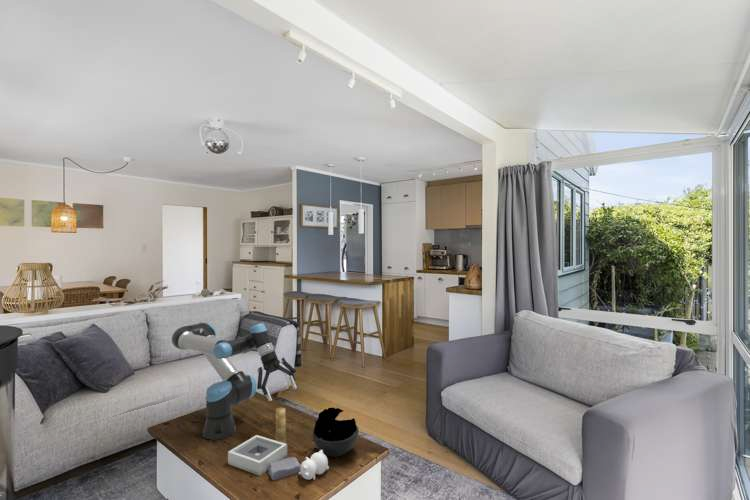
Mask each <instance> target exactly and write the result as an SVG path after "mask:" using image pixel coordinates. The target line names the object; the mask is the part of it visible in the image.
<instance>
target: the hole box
mask: <svg viewBox="0 0 750 500" xmlns="http://www.w3.org/2000/svg"><path fill="white" fill-rule="evenodd" d="M287 456H288V443H286V444H285V443H282V442H278V441H276V439H271V438H267V437H265V436H261V435H258V434H256V435H253V436H252V437H250V439H247V440H245V441H244V442H242V443H240V444H238V445H237V446H236V447H233V448H232V449H230V450H228V451H227V465H230V466H232V467H235V468H237V469H241V470H244V471H246V472H249V473H252V474H255V475H257V476H261V475H263V474H264V473H265V472H267V471H268V468H269V463H271V462H277V461H281V460H282V459H285V458H287Z"/></svg>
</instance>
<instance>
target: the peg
mask: <svg viewBox="0 0 750 500" xmlns="http://www.w3.org/2000/svg"><path fill="white" fill-rule="evenodd" d="M286 417H287V416H286V408H285V407H278V408H276V409H275V441H278V442H282V443H285V444H287V440H286V439H287V438H286V437H287V433H286V431H287V429H286V428H287V426H286V425H287V424H286V423H287V421H286Z"/></svg>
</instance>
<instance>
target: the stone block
mask: <svg viewBox="0 0 750 500" xmlns="http://www.w3.org/2000/svg"><path fill="white" fill-rule="evenodd" d="M300 467H301V464H300V463H299V460H298V458H296V457H295V456H290V457H285V458H283V459H282V460H281V461H277V462H271V463H269V468H268V470H267V471H268V473H267V474H268V475H269V476H270V478H271V480H272V481H277V480H281V479H283V478H287V477H291V476H294V475H297V474H299V472H301V471H300Z"/></svg>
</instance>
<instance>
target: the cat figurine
mask: <svg viewBox="0 0 750 500" xmlns="http://www.w3.org/2000/svg"><path fill="white" fill-rule="evenodd" d="M328 464H329V460H328V457H327V455H325V454H324V453H323V450H319V451H318V452H314V453H313V454H311V456H310V458H309V457H308V456H305V460H304V461H302V462H301V464H300V466H301V467H300V472H299V473H298V475H301V476H302V478H304V479H305V480H312V479H313V481H314V480H316V475H322V474H324V473H325V472H326V471H327V470H329V469H330V467H329V465H328Z"/></svg>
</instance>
